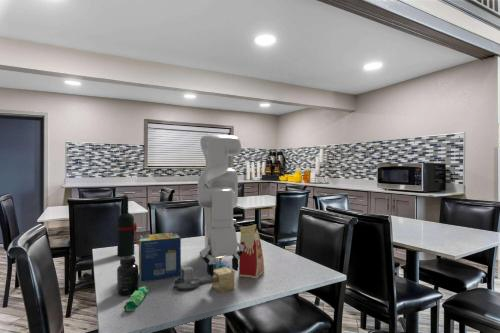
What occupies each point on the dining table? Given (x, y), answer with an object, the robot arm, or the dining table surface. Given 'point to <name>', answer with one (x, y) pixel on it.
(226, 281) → the brown parcel carton
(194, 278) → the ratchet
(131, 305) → the candy
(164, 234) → the protein box
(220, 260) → the chair
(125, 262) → the supplement bottle
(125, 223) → the wine bottle
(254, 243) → the milk carton
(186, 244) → the dining table surface
